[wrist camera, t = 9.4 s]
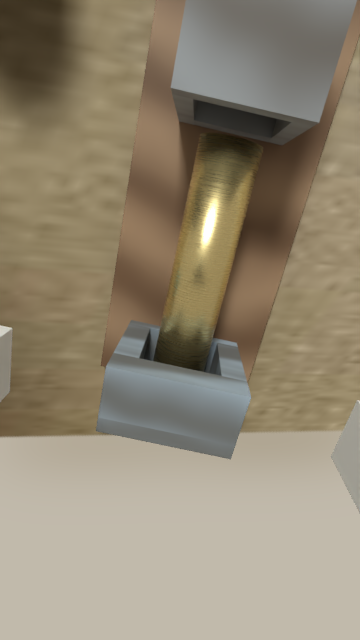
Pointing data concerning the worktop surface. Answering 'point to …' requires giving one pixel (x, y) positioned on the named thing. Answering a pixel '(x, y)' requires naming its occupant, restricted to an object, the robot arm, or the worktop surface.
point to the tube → (206, 247)
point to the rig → (173, 185)
